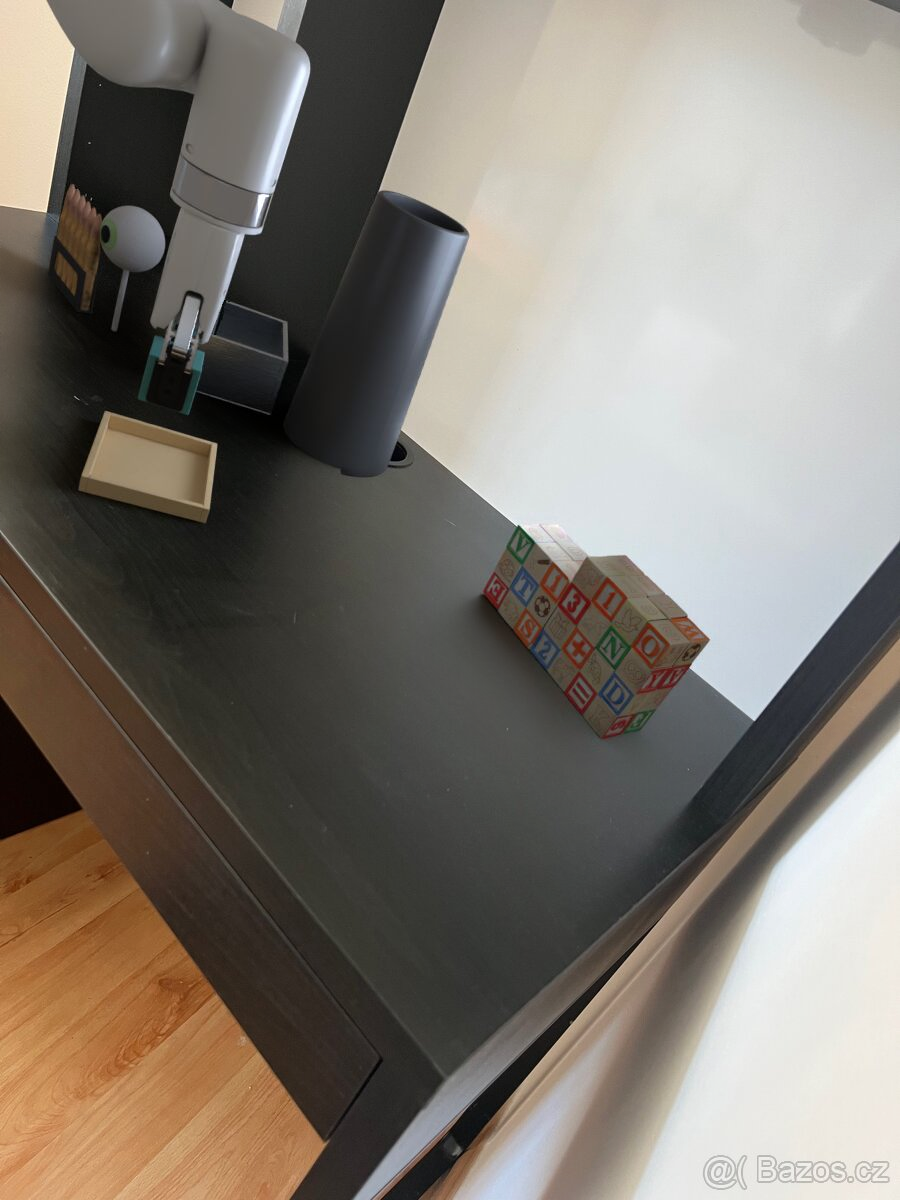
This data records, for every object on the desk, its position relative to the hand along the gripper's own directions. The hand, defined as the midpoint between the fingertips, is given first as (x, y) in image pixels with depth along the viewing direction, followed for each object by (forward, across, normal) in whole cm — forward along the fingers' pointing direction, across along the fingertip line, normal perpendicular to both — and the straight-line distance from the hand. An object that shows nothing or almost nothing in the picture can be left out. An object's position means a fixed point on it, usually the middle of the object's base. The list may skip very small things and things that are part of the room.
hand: (167, 391), depth 78 cm
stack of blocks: (+8, +14, +43) cm, 46 cm away
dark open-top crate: (+9, -27, +6) cm, 29 cm away
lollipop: (+10, -32, -7) cm, 34 cm away
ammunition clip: (+10, -39, -14) cm, 42 cm away
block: (+1, 0, 0) cm, 1 cm away
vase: (+9, -19, +21) cm, 29 cm away
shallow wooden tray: (+9, 0, +1) cm, 9 cm away
